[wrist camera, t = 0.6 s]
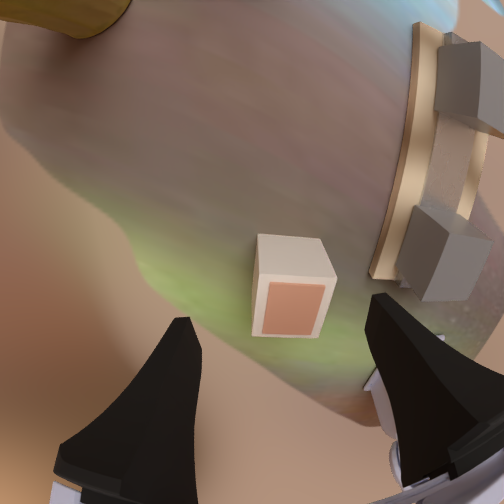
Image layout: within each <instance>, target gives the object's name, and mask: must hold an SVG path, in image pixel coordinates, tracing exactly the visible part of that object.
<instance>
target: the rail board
mask: <svg viewBox="0 0 504 504" xmlns="http://www.w3.org/2000/svg"><path fill="white" fill-rule="evenodd" d="M489 135H493V136H496V137H499V138H501V139H504V59H503V58H501V57H500V56H499V55H498V54H496V53H495V52H494V51H493V50H491V49H490V48H489V47H487V46H486V45H485V44H483V43H482V42H480V41H479V42H467V41H466V40H464V39H462V38H461V37H459V36H458V35H456V34H454V33H453V32H449V33H441V32H440V31H438V30H436V29H434V28H432V27H430V26H428V25H426V24H424V23H422V22H417V23H414V24H413V48H412V67H411V80H410V90H409V99H408V107H407V115H406V122H405V128H404V134H403V140H402V146H401V151H400V157H399V162H398V166H397V171H396V176H395V180H394V185H393V189H392V193H391V197H390V201H389V205H388V209H387V213H386V216H385V220H384V224H383V227H382V231H381V234H380V237H379V241H378V244H377V247H376V250H375V254H374V257H373V260H372V263H371V266H370V269H369V273H370V275H371V277H372V279H388V280H394V281H396V283H397V284H398V286H399V287H400V288H412V289H413V290H414V292H415V293H416V295H417V296H418V298H419V299H420V301H421V302H423V301H463V300H467V299H468V297H469V296H470V294H471V292H472V290H473V288H474V286H475V284H476V282H477V280H478V278H479V275H480V273H481V271H482V269H483V267H484V264H485V262H486V260H487V258H488V255H489V253H490V250H491V248H492V245H493V243H494V241H493V240H492V239H491V238H490V237H488V236H487V235H486V234H485V233H483V232H482V231H481V230H480V229H478V228H477V227H476V226H474V225H473V224H472V223H471V222H469V221H468V219H469V216H470V213H471V210H472V206H473V203H474V200H475V196H476V192H477V189H478V185H479V181H480V177H481V173H482V168H483V164H484V158H485V154H486V148H487V143H488V136H489Z"/></svg>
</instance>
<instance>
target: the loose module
mask: <svg viewBox="0 0 504 504" xmlns="http://www.w3.org/2000/svg"><path fill="white" fill-rule="evenodd" d="M336 281H337V276H336V274H335V271H334V269H333V267H332V264H331V262H330V260H329V258H328V255H327V253H326V251H325V249H324V247H323V244H322V242H321V240H320V239H316V238H305V237H293V236H281V235H269V234H258V236H257V246H256V255H255V265H254V274H253V283H252V336H259V337H284V338H318V336H319V334H320V331H321V328H322V325H323V322H324V319H325V316H326V313H327V310H328V307H329V304H330V301H331V298H332V294H333V291H334V288H335V285H336Z"/></svg>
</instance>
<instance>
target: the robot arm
mask: <svg viewBox="0 0 504 504" xmlns="http://www.w3.org/2000/svg"><path fill="white" fill-rule="evenodd" d="M364 330H365V334H366V337H367V341H368V345H369V348H370V351H371V354H372V356H373V359H374V361H375V364H376V366H377V368H376V370H375V371H374V373H373V374H372V376H371V377H370V379H369V380H368V382H367V383H366V385H365V386H364V391H370V390H371V394H372V397H373V400H374V404H375V407H376V411H377V414H378V418H379V421H380V425H381V427H382V429H383V431H384V432H385V433H386V434H387V435H388V436H389V437H391V438H393V439H397V441H395V442H393V444H392V446H391V449H390V452H389V461H390V467H391V471H392V474H393V476H394V478H395V480H396V482H397V483H398V484H399V486H400V487H401V490H402V493H399V494H396V495H394V496H391V497H388V498H385V499H382V500H379V501H376V502H373V503H369V504H412V503H416V504H499V503H500V502H501V501H502V500H503V499H504V375H502V374H499V373H497V372H494V371H492V370H490V369H488V368H486V367H484V366H482V365H480V364H478V363H476V362H475V361H473V360H471V359H469V358H467V357H466V356H464V355H463V354H461V353H459V352H458V351H456V350H455V349H453V348H452V347H450V346H449V345H448V344H446V343H445V342H443V341H444V339H445V336H444V335H437V336H436V335H434V334H433V333H432V332H431V331H429V330H428V329H427V328H426V327H424V326H423V325H422V324H421V323H420V322H419V321H417V320H416V319H415V318H414V317H413V316H412V315H411V314H409V313H408V312H407V311H406V310H405V309H404V308H403V307H402V306H400V305H399V304H398V303H397V302H396V301H395V300H394V299H392V298H391V297H390V296H389V295H388V294H387V293H380V294H374V295H372V298H371V302H370V307H369V312H368V316H367V321H366V325H365V329H364ZM201 369H202V348H201V346H200V343H199V341H198V338H197V335H196V333H195V330H194V328H193V325H192V322H191V319H190V317H179V318H174V320H173V321H172V323H171V324H170V326H169V327H168V329H167V331H166V332H165V334H164V335H163V337H162V339H161V340H160V342H159V343H158V345H157V346H156V348H155V349H154V351H153V352H152V354H151V355H150V357H149V358H148V360H147V361H146V363H145V364H144V366H143V367H142V368H141V370H140V371H139V372H138V374H137V375H136V377H135V378H134V379H133V380H132V381H131V383H130V384H129V385H128V387H127V388H126V389H125V390H124V391H123V392H122V393H121V394H120V396H119V397H118V398H117V399H116V400H115V401H114V402H113V403H112V404H111V405H110V406H109V407H108V408H107V409H106V410H105V411H104V412H103V413H102V414H101V415H100V416H98V417H97V418H96V419H95V420H94V421H92V422H91V423H90V424H89V425H88V426H87V427H85V428H84V429H83V430H81V431H80V432H79V433H77V434H76V435H74V436H73V437H71V438H70V439H68V440H67V441H65V442H64V443H62V444H60V447H59V451H58V454H57V458H56V462H55V466H54V470H53V472H54V473H55V474H56V475H58V476H59V477H61V478H64V479H66V480H67V481H70V482H72V483H74V484H77V485H79V486H81V487H82V492H80V491H77V490H75V489H72V488H70V487H68V486H65V485H63V484H61V483H59V482H56V481H54V482H53V487H52V492H51V497H50V503H49V504H198V498H197V489H196V481H195V480H196V479H195V462H194V424H195V414H196V406H197V400H198V392H199V386H200V379H201ZM429 478H430V479H429ZM427 479H429V480H427Z"/></svg>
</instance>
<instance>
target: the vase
mask: <svg viewBox="0 0 504 504" xmlns="http://www.w3.org/2000/svg"><path fill="white" fill-rule="evenodd" d="M129 3H130V0H0V20H3V21H7V22H15V23H21V24H28V25H34V26H39V27H43V28H46V29H49V30H53V31H56V32H60V33H65V34H67V35H69V36H71V37H73V38H78V39H81V38H88V37H91V36H94V35H96V34H99V33H100V32H102V31H104V30H105V29H106V28H108V27H109V26H110V25H112V24H113V23H114V22H115V21H116V20H117V19H118V18H119V17H120V16H121V15H122V13H123V12H124V11H125V9H126V8H127V6H128V4H129Z"/></svg>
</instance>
